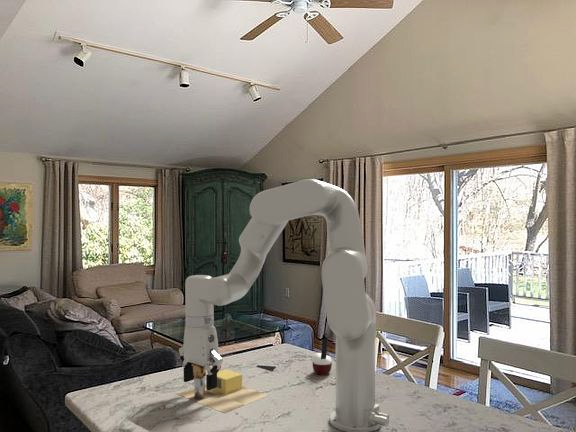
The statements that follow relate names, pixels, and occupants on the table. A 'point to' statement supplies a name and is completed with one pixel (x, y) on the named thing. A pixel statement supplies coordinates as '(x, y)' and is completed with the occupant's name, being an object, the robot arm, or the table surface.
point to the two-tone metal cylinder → (199, 381)
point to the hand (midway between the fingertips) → (200, 384)
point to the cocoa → (322, 360)
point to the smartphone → (268, 367)
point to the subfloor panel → (225, 398)
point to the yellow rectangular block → (228, 381)
